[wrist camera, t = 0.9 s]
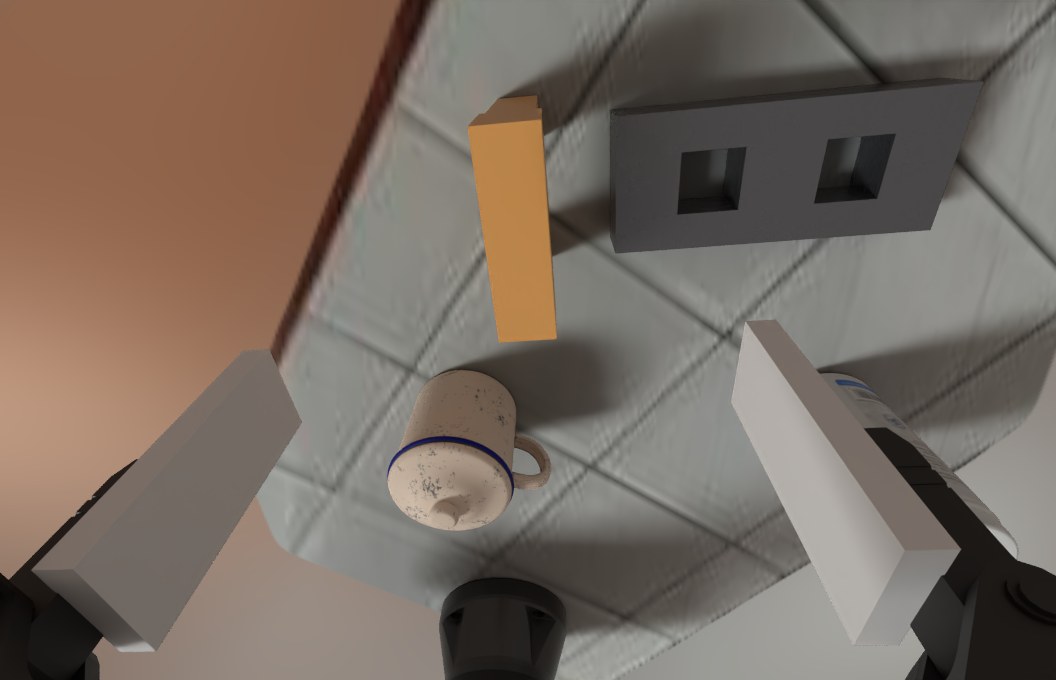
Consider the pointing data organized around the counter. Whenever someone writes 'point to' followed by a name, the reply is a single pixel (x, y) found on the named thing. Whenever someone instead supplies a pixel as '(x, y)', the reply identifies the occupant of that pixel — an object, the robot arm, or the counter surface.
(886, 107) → the graphite rail
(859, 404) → the supplement tub
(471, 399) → the teacup with lid
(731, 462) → the counter surface
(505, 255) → the orange clip
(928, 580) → the robot arm
